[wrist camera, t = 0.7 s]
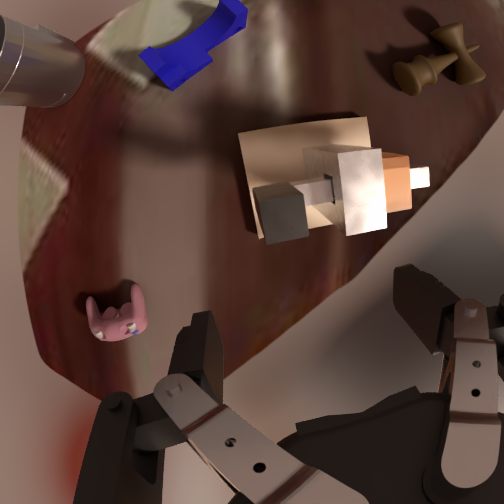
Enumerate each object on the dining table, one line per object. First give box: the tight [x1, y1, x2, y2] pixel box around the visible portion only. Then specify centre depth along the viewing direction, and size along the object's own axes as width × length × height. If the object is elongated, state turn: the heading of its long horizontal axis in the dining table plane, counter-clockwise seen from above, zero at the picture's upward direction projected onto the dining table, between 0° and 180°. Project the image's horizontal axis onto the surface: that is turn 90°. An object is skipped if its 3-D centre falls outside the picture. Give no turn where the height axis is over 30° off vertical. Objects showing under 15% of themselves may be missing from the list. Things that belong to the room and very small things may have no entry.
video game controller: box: [86, 284, 148, 341], centre depth 38 cm, size 10×5×7 cm, turn 105°
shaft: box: [252, 165, 430, 245], centre depth 23 cm, size 3×18×8 cm, turn 100°
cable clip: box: [138, 0, 248, 91], centre depth 26 cm, size 12×4×6 cm, turn 127°
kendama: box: [392, 23, 486, 96], centre depth 27 cm, size 6×10×20 cm
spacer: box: [381, 152, 412, 213], centre depth 26 cm, size 5×3×5 cm, turn 11°
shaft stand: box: [238, 117, 387, 238], centre depth 29 cm, size 13×16×14 cm
